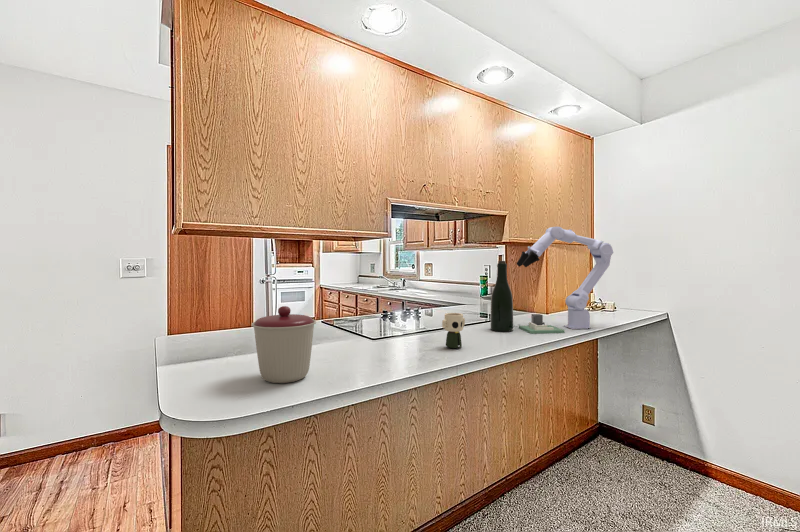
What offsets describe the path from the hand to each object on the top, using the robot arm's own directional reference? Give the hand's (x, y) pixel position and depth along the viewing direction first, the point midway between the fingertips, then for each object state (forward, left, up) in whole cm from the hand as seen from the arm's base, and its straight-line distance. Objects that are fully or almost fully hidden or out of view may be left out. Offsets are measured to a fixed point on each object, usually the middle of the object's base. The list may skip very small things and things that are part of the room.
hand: (520, 265), depth 197 cm
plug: (-11, -5, -31) cm, 33 cm away
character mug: (+41, +36, -31) cm, 63 cm away
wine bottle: (+10, +3, -31) cm, 33 cm away
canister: (+99, +69, -31) cm, 125 cm away
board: (-8, +6, -31) cm, 32 cm away
